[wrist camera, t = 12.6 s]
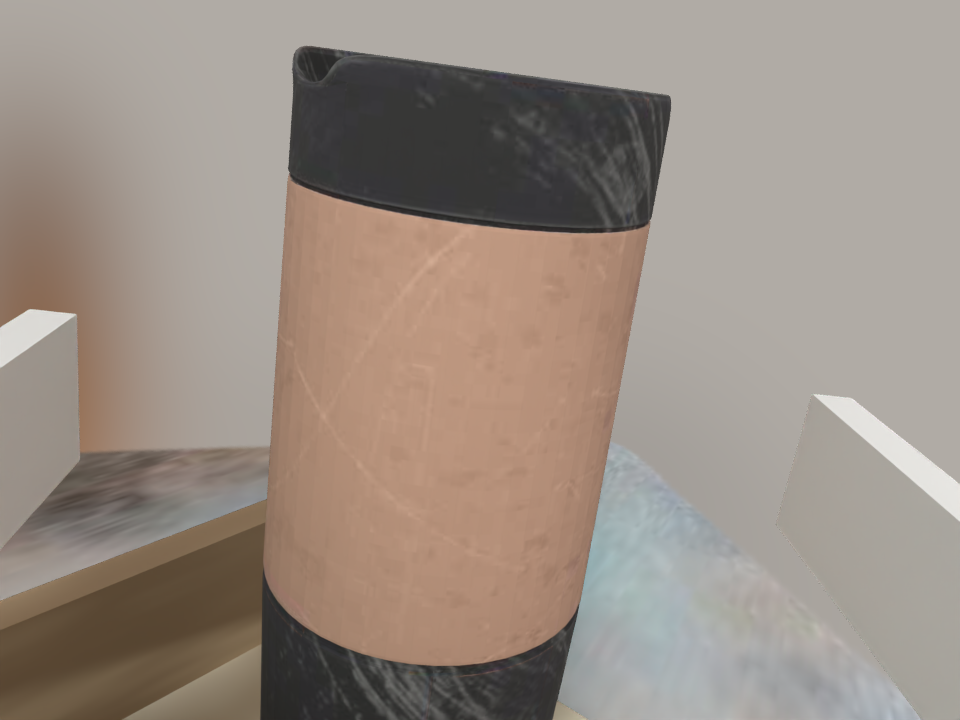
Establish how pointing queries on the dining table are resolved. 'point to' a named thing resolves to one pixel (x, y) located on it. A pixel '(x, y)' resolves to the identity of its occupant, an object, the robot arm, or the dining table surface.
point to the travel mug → (445, 381)
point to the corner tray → (147, 633)
